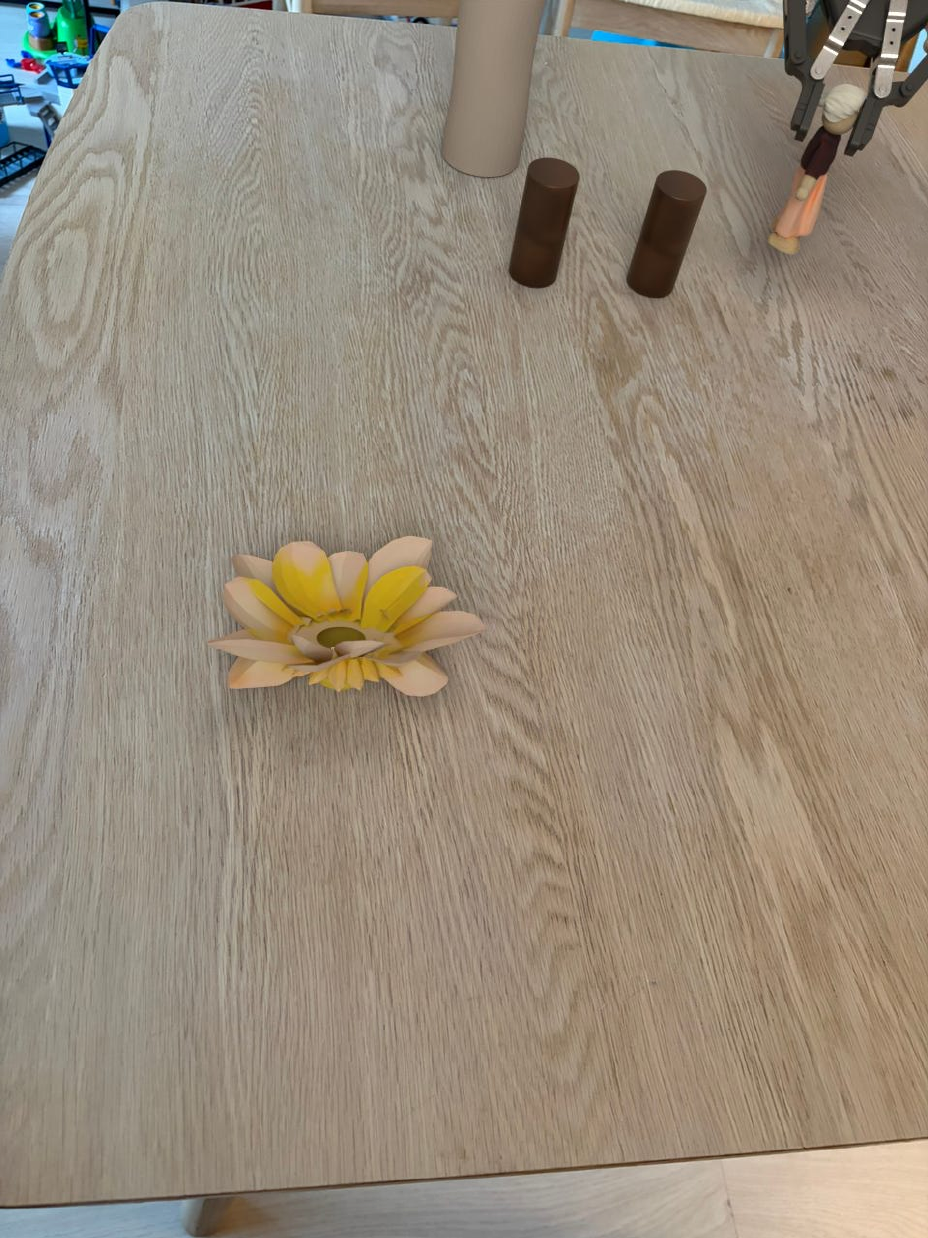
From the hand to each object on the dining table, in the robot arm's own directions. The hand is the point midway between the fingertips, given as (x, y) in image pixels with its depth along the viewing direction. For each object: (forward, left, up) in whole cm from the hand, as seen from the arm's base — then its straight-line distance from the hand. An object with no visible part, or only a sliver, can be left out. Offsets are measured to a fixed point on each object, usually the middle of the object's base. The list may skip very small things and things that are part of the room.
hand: (825, 144), depth 78 cm
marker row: (+15, +1, -13) cm, 20 cm away
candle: (+23, -19, -13) cm, 33 cm away
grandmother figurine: (-1, -2, -9) cm, 9 cm away
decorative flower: (+34, +39, -13) cm, 54 cm away
